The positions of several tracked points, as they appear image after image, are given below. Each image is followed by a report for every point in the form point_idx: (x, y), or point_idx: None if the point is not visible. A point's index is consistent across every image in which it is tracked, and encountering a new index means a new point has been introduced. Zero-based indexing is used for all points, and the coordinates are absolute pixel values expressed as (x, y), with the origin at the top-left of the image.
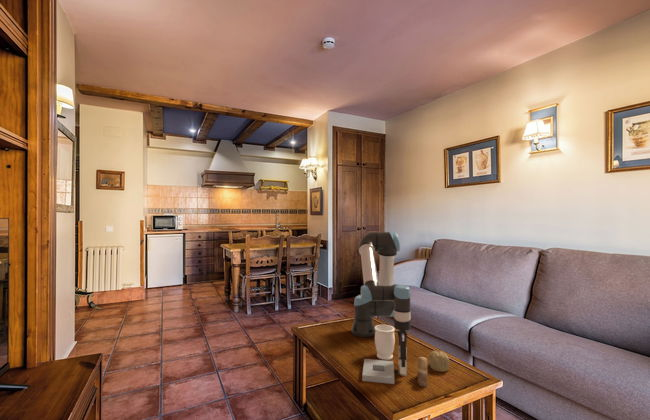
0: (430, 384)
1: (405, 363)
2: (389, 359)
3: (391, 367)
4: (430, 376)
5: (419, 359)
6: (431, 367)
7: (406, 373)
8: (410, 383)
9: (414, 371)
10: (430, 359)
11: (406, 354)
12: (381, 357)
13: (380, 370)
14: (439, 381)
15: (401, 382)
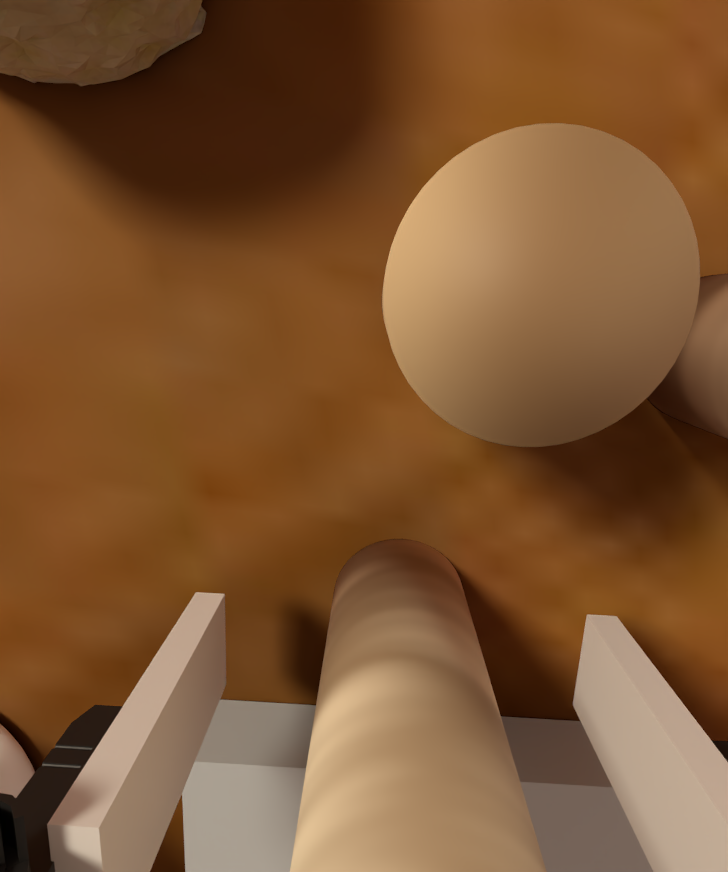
0: (706, 215)
1: (723, 780)
2: (10, 735)
3: None
4: (438, 160)
5: (596, 416)
6: (134, 69)
7: (433, 557)
8: (678, 524)
9: (304, 412)
10: (2, 7)
11: (496, 844)
12: None
13: None
14: (602, 18)
15: (653, 639)
